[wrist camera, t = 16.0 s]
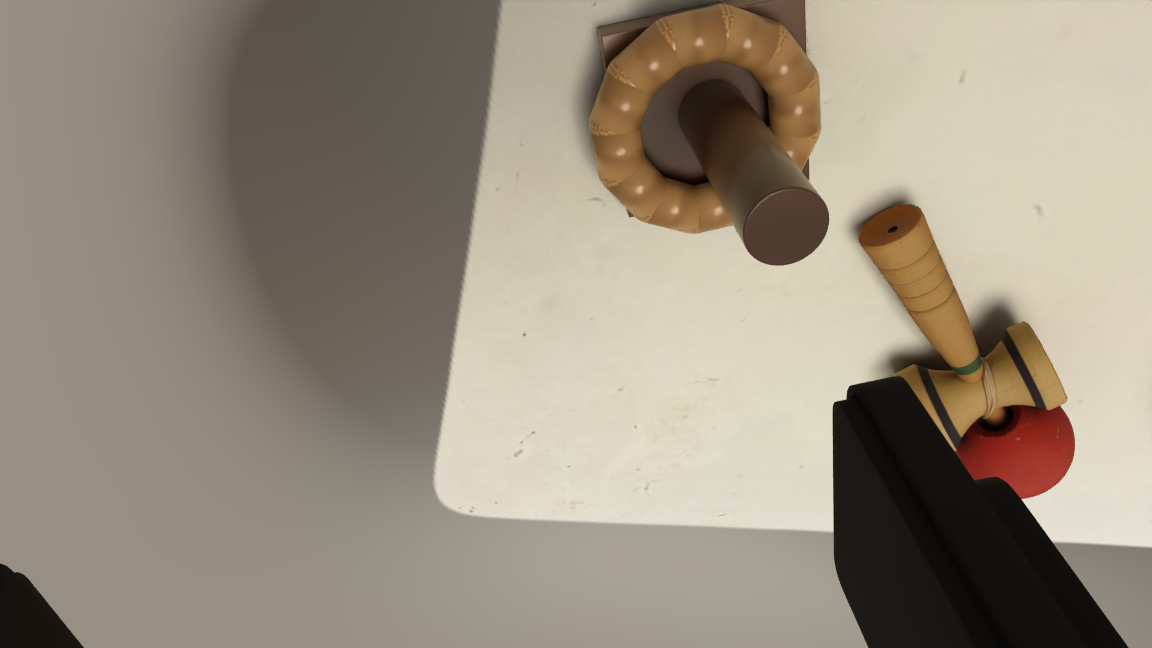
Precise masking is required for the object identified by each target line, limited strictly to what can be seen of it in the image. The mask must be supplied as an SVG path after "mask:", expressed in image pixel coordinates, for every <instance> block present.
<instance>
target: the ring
mask: <svg viewBox="0 0 1152 648" xmlns="http://www.w3.org/2000/svg"><path fill="white" fill-rule="evenodd" d="M716 61H720V62H724V63H727V64H730V65H733V66H736V67H739V68H742V69H746V70H749V71H750V72H751V73H752V75H753V76H754V77H755V79H756V80H757V81H758V82H759V84H760V85H761V86H762V88H763V89H764V90H765V91H766V93H767V94H768V107H769V121H770V125H769V127H768V128H769V130H770V131H771V132H772V133H773V135H774V136H775V137H776V139H777V140H778V141H779V143H780V144H781V145H782V147H783V148H784V149H785V151H786V152H787V153H788V155H789V156H790V157H791V158H792V160H793V161H794V162H795V164H796V165H797V166H798V168H799V169H800V170H801V172H802V170H803V168H804V166H805V164H806V162H807V160H808V158H809V156H810V154H811V152H812V150H813V148H814V146H815V144H816V142H817V140H818V138H819V135H820V132H821V113H820V88H819V75H818V72H817V70H816V68H815V66H814V65H813V64H812V62H811V61H810V60H809V58H808V57H807V55H806V54H805V53H804V51H803V50H802V49H801V47H800V46H799V44H798V43H797V42H796V40H795V39H794V38H793V36H792V35H791V34H790V32H789V31H788V29H787V28H786V27H785V26H784V25H782V24H781V23H779V22H777V21H775V20H772V19H769V18H766V17H763V16H760V15H757V14H754V13H751V12H748V11H745V10H742V9H739V8H736V7H733V6H730V5H726V4H718V5H713V6H709V7H705V8H700V9H696V10H692V11H687V12H683V13H679V14H675V15H670V16H666V17H663V18H660V19H658V20H657V21H655V22H654V23H653V24H652V25H651V26H650V27H649V28H647V29H646V30H645V31H644V32H643V33H642V34H641V35H640V36H638V37H637V38H636V39H635V40H634V41H633V42H632V43H631V44H630V45H628V46H627V47H626V48H625V49H624V50H623V51H622V52H621V53H619V54H618V55H617V56H616V57H615V58H614V59H613V60H612V61H611V63H610V64H609V66H608V68H607V70H606V73H605V76H604V79H603V82H602V84H601V87H600V90H599V93H598V96H597V98H596V101H595V104H594V107H593V110H592V112H591V115H590V119H589V130H590V135H591V140H592V145H593V150H594V155H595V160H596V165H597V170H598V175H599V178H600V180H601V182H602V183H603V184H604V186H605V187H606V188H607V189H608V190H609V191H610V192H611V193H612V194H613V195H614V196H615V197H616V198H617V199H618V200H619V201H620V202H621V203H622V204H623V205H624V206H625V207H626V208H627V209H628V210H629V211H630V212H631V213H632V214H633V215H634V216H635V217H636V218H637V219H639V220H640V221H642V222H645V223H649V224H653V225H657V226H661V227H665V228H669V229H673V230H676V231H680V232H684V233H689V234H697V233H702V232H706V231H710V230H715V229H719V228H724V227H728V226H732V225H733V223H732V222H731V220H730V218H729V216H728V214H727V212H726V211H725V209H724V207H723V205H722V203H721V201H720V200H719V198H718V196H717V194H716V192H715V191H714V189H713V187H712V185H711V183H710V182H707V183H703V184H699V185H690V184H687V183H683V182H679V181H676V180H672V179H668V178H665V177H664V176H663V175H662V174H661V173H660V172H659V171H658V170H657V169H656V168H655V167H654V165H653V164H652V163H651V162H650V161H649V160H648V159H647V158H646V157H645V152H644V146H643V140H642V133H641V124H642V121H643V119H644V116H645V114H646V111H647V109H648V106H649V104H650V101H651V98H652V96H653V94H654V93H655V92H656V91H658V90H659V89H660V88H661V87H662V86H663V85H665V84H666V83H667V82H668V81H669V80H670V79H671V78H673V77H674V76H675V75H676V74H677V73H678V72H680V71H681V70H682V69H685V68H690V67H694V66H698V65H703V64H707V63H711V62H716Z"/></svg>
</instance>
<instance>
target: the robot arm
mask: <svg viewBox="0 0 1152 648" xmlns="http://www.w3.org/2000/svg"><path fill="white" fill-rule="evenodd" d="M833 504H834V560H835V566H836V571H837V575H838V578H839V581H840V584H841V586H842V589H843V591H844V593H845V596H846V598H847V600H848V603H849V605H850V607H851V609H852V611H853V614H854V616H855V618H856V621H857V623H858V625H859V627H860V629H861V632H862V634H863V636H864V639H865V641H866V643H867V645H868V648H1128V646H1127V645H1126V643H1125V642H1124V641H1123V639H1122V638H1121V637H1120V635H1119V634H1118V633H1117V631H1116V630H1115V628H1114V627H1113V626H1112V624H1111V623H1110V621H1109V620H1108V619H1107V617H1106V616H1105V615H1104V613H1103V612H1102V610H1101V609H1100V608H1099V606H1098V605H1097V603H1096V602H1095V601H1094V599H1093V598H1092V596H1091V595H1090V594H1089V592H1088V591H1087V590H1086V589H1085V587H1084V585H1083V584H1082V583H1081V581H1080V580H1079V578H1078V577H1077V576H1076V574H1075V573H1074V572H1073V570H1072V569H1071V567H1070V566H1069V565H1068V563H1067V562H1066V561H1065V559H1064V558H1063V556H1062V555H1061V554H1060V552H1059V551H1058V549H1057V548H1056V547H1055V546H1054V544H1053V543H1052V541H1051V540H1050V538H1049V537H1048V536H1047V534H1046V533H1045V531H1044V530H1043V529H1042V527H1041V526H1040V525H1039V523H1038V522H1037V520H1036V519H1035V518H1034V516H1033V515H1032V513H1031V512H1030V511H1029V509H1028V508H1027V507H1026V505H1025V504H1024V502H1023V501H1022V500H1021V498H1020V497H1019V495H1018V494H1017V493H1016V492H1015V491H1014V489H1013V488H1012V487H1011V486H1010V485H1009V484H1008V483H1007V482H1006V481H1004V480H1003V479H1001V478H999V477H988V478H983V479H978V480H974V479H973V478H972V476H971V475H970V473H969V472H968V470H967V469H966V468H965V466H964V465H963V463H962V462H961V460H960V459H959V457H958V456H957V454H956V453H955V451H954V450H953V448H952V447H951V445H950V444H949V443H948V441H947V440H946V438H945V437H944V435H943V434H942V432H941V431H940V429H939V428H938V426H937V425H936V423H935V422H934V420H933V419H932V417H931V416H930V415H929V413H928V412H927V410H926V409H925V407H924V406H923V404H922V403H921V401H920V400H919V398H918V397H917V395H916V394H915V392H914V391H913V390H912V388H911V387H910V385H909V384H908V382H907V381H906V380H905V379H904V378H903V377H901V376H894V377H889V378H884V379H880V380H875V381H870V382H865V383H860V384H855V385H851V386H849V388H848V391H847V400H842V401H837V402H834V405H833ZM0 648H84V647H83V646H82V645H81V644H80V642H79V641H78V640H77V639H76V637H75V636H74V635H73V634H72V633H71V631H70V630H69V629H68V628H67V626H66V625H65V624H64V623H63V621H62V620H61V619H60V618H59V616H58V615H57V614H56V613H55V612H54V610H53V609H52V608H51V607H50V605H49V604H48V603H47V602H46V600H45V599H44V598H43V597H42V595H41V594H40V593H39V592H38V590H37V589H36V588H35V587H34V586H33V584H32V583H31V582H30V581H29V579H28V578H27V577H26V576H24V575H23V574H21V573H18V572H16V573H14V572H13V571H12V570H11V569H10V568H8V567H7V566H5V565H3V564H0Z"/></svg>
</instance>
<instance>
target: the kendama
mask: <svg viewBox="0 0 1152 648" xmlns="http://www.w3.org/2000/svg"><path fill="white" fill-rule="evenodd" d="M859 242H860V244H861V246H862V247H863V248H864V250H865V251H866V252H867V254H868V255H869V256H870V258H871V259H872V260H873V262H874V263H875V264H876V265H877V266H878V268H879V270H880V271H881V273H882V274H883V276H884V277H885V278H886V279H887V281H888V282H889V284H890V286H891V287H892V289H893V290H894V291H895V292H896V294H897V296H898V297H899V299H900V300H901V302H902V303H903V305H904V306H905V307H906V308H907V311H908V312H909V314H910V315H911V317H912V318H913V320H914V321H915V322H916V324H917V325H918V327H919V328H920V330H921V331H922V332H923V334H924V335H925V336H926V338H927V339H928V340H929V341H930V343H931V344H932V345H933V346H934V347H935V349H936V350H937V351H938V352H939V354H940V355H941V356H942V357H943V358H944V360H945V361H946V362H947V363H948V364H949V365H950V367H951V368H952V369H953V370H949V371H941V370H932V369H927V368H924V367H921V366H917V365H915V364H913V365H911V366H909V367H907V368H905V369H903V370H900V371H898V372H896V373H895V375H894V376H901V377H903V378H904V379H905V380H906V381H907V382H908V384H909V385H910V387H911V388H912V390H913V391H914V392H915V394H916V395H917V397H918V398H919V400H920V401H921V403H922V404H923V406H924V407H925V409H926V410H927V412H928V413H929V415H930V416H931V417H932V419H933V420H934V422H935V423H936V425H937V426H938V428H939V429H940V431H941V432H942V434H943V435H944V437H945V438H946V440H947V441H948V443H949V444H950V445H951V447H952V448H953V450H954V451H955V453H956V454H957V456H958V457H959V459H960V460H961V462H962V463H963V465H964V466H965V468H966V469H967V470H968V472H969V473H970V475H971V476H972V478H973V479H974V480H978V479H983V478H988V477H999V478H1001V479H1003V480H1004V481H1006V482H1007V483H1008V484H1009V485H1010V486H1011V487H1012V488H1013V489H1014V491H1015V492H1016V493H1017V494H1018V495H1019V497H1020V498H1021V499H1024V498H1030V497H1034V496H1037V495H1039V494H1042V493H1044V492H1046V491H1048V490H1049V489H1051V488H1052V487H1053V486H1055V485H1056V484H1057V483H1059V481H1060V480H1061V479H1062V478H1063V477H1064V476H1065V474H1066V473H1067V471H1068V469H1069V467H1070V465H1071V463H1072V460H1073V456H1074V450H1075V438H1074V432H1073V428H1072V425H1071V423H1070V420H1069V418H1068V417H1067V415H1066V413H1065V412H1064V411H1063V409H1062V408H1061V407H1060V405H1062V404H1064V403H1065V402H1066V401H1067V396H1066V394H1065V391H1064V389H1063V386H1062V384H1061V382H1060V379H1059V377H1058V375H1057V373H1056V371H1055V370H1054V367H1053V365H1052V363H1051V361H1050V359H1049V357H1048V356H1047V354H1046V352H1045V350H1044V348H1043V346H1042V344H1041V343H1040V341H1039V339H1038V338H1037V336H1036V334H1035V333H1034V331H1033V329H1032V328H1031V327H1030V325H1029V324H1028V323H1026V322H1024V321H1023V322H1022V323H1019V324H1016V325H1013V326H1010V327H1008V328H1007V329H1006V331H1005V332H1004V334H1003V336H1002V338H1001V340H1000V342H999V343H998V345H997V346H996V347H995V349H994V350H993V351H992V352H991V353H990V354H989V355H988V356H986V357H985V358H983V357H981V356H980V352H979V350H978V347H977V344H976V341H975V338H974V335H973V331H972V329H971V326H970V323H969V320H968V317H967V315H966V312H965V310H964V307H963V305H962V302H961V300H960V298H959V296H958V293H957V291H956V289H955V287H954V285H953V282H952V280H951V278H950V276H949V274H948V272H947V270H946V267H945V265H944V262H943V260H942V258H941V256H940V254H939V251H938V249H937V246H936V244H935V242H934V240H933V238H932V235H931V232H930V229H929V227H928V224H927V222H926V219H925V217H924V214H923V212H922V211H921V209H920V208H919V207H918V206H914V205H910V204H905V205H898V206H894V207H891V208H888V209H886V210H884V211H882V212H880V213H878V214H877V215H876V216H874V217H873V218H871V219H870V220H869V221H868V222H867V223H866V224H865V225H864V227H863V228H862V229H861V231H860V234H859Z"/></svg>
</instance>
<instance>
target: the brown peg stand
mask: <svg viewBox="0 0 1152 648" xmlns="http://www.w3.org/2000/svg"><path fill="white" fill-rule="evenodd" d="M718 4H726V5H730V6H733V7H736V8H739V9H742V10H745V11H748V12H751V13H754V14H757V15H760V16H763V17H766V18H769V19H772V20H775V21H777V22H779V23H781V24H782V25H784V26H785V27H786V28H787V29H788V31H789V32H790V34H791V35H792V36H793V38H794V39H795V40H796V42H797V43H798V44H799V46H800V47H801V49H802V50H803V51H804V53H805V54H806V22H805V0H726V1H721V2H717V3H712V4H707V5H702V6H698V7H693V8H688V9H683V10H678V11H674V12H669V13H664V14H659V15H655V16H650V17H645V18H640V19H636V20H631V21H626V22H621V23H617V24H612V25H607V26H602V27H598V28H597V32H598V39H599V45H600V51H601V58H602V64H603V70H604V76H605V73H606V70H607V68H608V66H609V64H610V63H611V61H612V60H613V59H614V58H615V57H616V56H617V55H618V54H619V53H621V52H622V51H623V50H624V49H625V48H626V47H627V46H628V45H630V44H631V43H632V42H633V41H634V40H635V39H636V38H637V37H638V36H640V35H641V34H642V33H643V32H644V31H645V30H646V29H647V28H649V27H650V26H651V25H652V24H653V23H654V22H655V21H657V20H658V19H660V18H663V17H666V16H670V15H675V14H679V13H683V12H687V11H692V10H696V9H700V8H705V7H709V6H713V5H718ZM769 125H770V121H769V107H768V94H767V93H766V91H765V90H764V89H763V88H762V86H761V85H760V84H759V82H758V81H757V80H756V79H755V77H754V76H753V75H752V73H751V72H750V71H749V70H746V69H742V68H739V67H736V66H733V65H730V64H727V63H724V62H720V61H716V62H711V63H707V64H703V65H698V66H694V67H690V68H685V69H682V70H681V71H680V72H678V73H677V74H676V75H675V76H674V77H673V78H671V79H670V80H669V81H668V82H667V83H666V84H665V85H663V86H662V87H661V88H660V89H659V90H658V91H656V92H655V93H654V94H653V96H652V98H651V101H650V104H649V106H648V109H647V111H646V114H645V116H644V119H643V121H642V124H641V133H642V140H643V146H644V152H645V157H646V158H647V159H648V160H649V161H650V162H651V163H652V164H653V165H654V167H655V168H656V169H657V170H658V171H659V172H660V173H661V174H662V175H663V176H664V177H665V178H668V179H672V180H676V181H679V182H683V183H687V184H690V185H699V184H703V183H707V182H710V183H711V185H712V187H713V189H714V191H715V192H716V194H717V196H718V198H719V200H720V201H721V203H722V205H723V207H724V209H725V211H726V212H727V214H728V216H729V218H730V220H731V222H732V223H733V225H734V227H735V229H736V231H737V232H738V234H739V236H740V238H741V240H742V242H743V243H744V245H745V247H746V249H747V251H748V252H749V253H750V254H751V255H752V256H753V257H754V258H755V259H757V260H758V261H760V262H762V263H765V264H769V265H788V264H792V263H795V262H797V261H800V260H802V259H804V258H805V257H807V256H808V255H810V254H811V253H812V252H813V251H814V250H815V249H816V248H817V247H818V246H819V245H820V244H821V242H822V240H823V239H824V237H825V235H826V232H827V229H828V225H829V213H828V208H827V206H826V204H825V202H824V201H823V199H822V198H821V197H820V195H819V194H818V193H817V191H816V190H815V189H814V187H813V186H812V185H811V183H810V182H809V181H808V180H809V158H808V160H807V162H806V164H805V166H804V168H803V170H802V172H801V170H800V169H799V168H798V166H797V165H796V164H795V162H794V161H793V160H792V158H791V157H790V156H789V155H788V153H787V152H786V151H785V149H784V148H783V147H782V145H781V144H780V143H779V141H778V140H777V139H776V137H775V136H774V135H773V133H772V132H771V131H770V130H769V128H768V127H769ZM626 210H627V213H628V215H629V217H634V215H633V214H632V213H631V212H630V211H629V210H628V209H627V208H626Z"/></svg>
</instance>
